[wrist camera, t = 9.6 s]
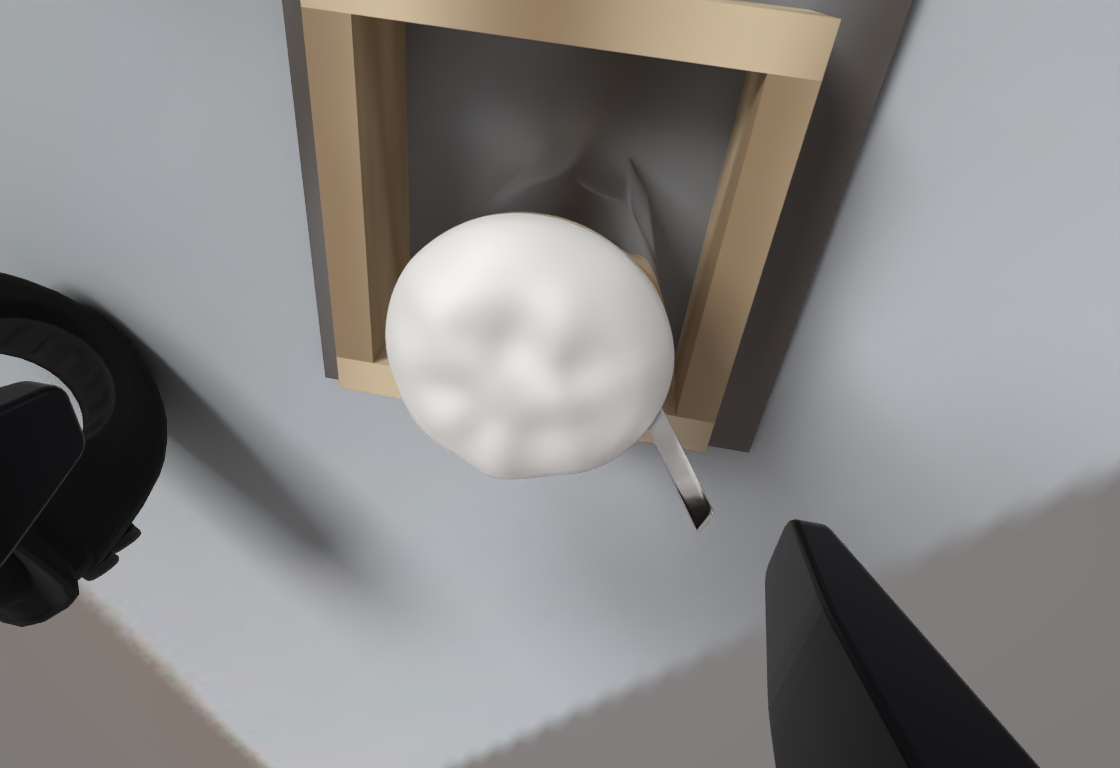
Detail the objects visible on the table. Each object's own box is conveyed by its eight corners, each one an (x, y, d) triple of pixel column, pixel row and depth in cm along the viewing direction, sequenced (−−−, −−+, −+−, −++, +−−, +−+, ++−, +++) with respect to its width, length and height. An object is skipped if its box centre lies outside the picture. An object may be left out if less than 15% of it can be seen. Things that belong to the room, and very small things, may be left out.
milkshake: (648, 320, 18) (631, 614, 10) (475, 240, 18) (303, 482, 9) (734, 174, 16) (807, 405, 7) (537, 75, 15) (375, 206, 7)
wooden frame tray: (939, -93, 13) (1016, -111, 10) (747, 444, 21) (759, 520, 18) (271, -177, 14) (166, -215, 11) (330, 370, 21) (279, 432, 19)
